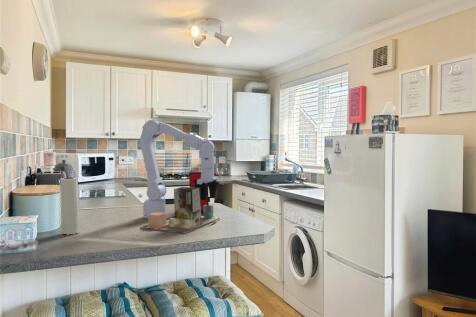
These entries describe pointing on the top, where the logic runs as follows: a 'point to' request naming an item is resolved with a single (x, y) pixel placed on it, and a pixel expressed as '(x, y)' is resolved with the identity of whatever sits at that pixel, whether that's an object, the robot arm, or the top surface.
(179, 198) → the coffee box
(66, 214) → the tall grey block
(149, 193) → the robot arm
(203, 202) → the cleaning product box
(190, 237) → the top surface
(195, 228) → the lane frame
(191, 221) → the frame
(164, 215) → the terracotta cube
